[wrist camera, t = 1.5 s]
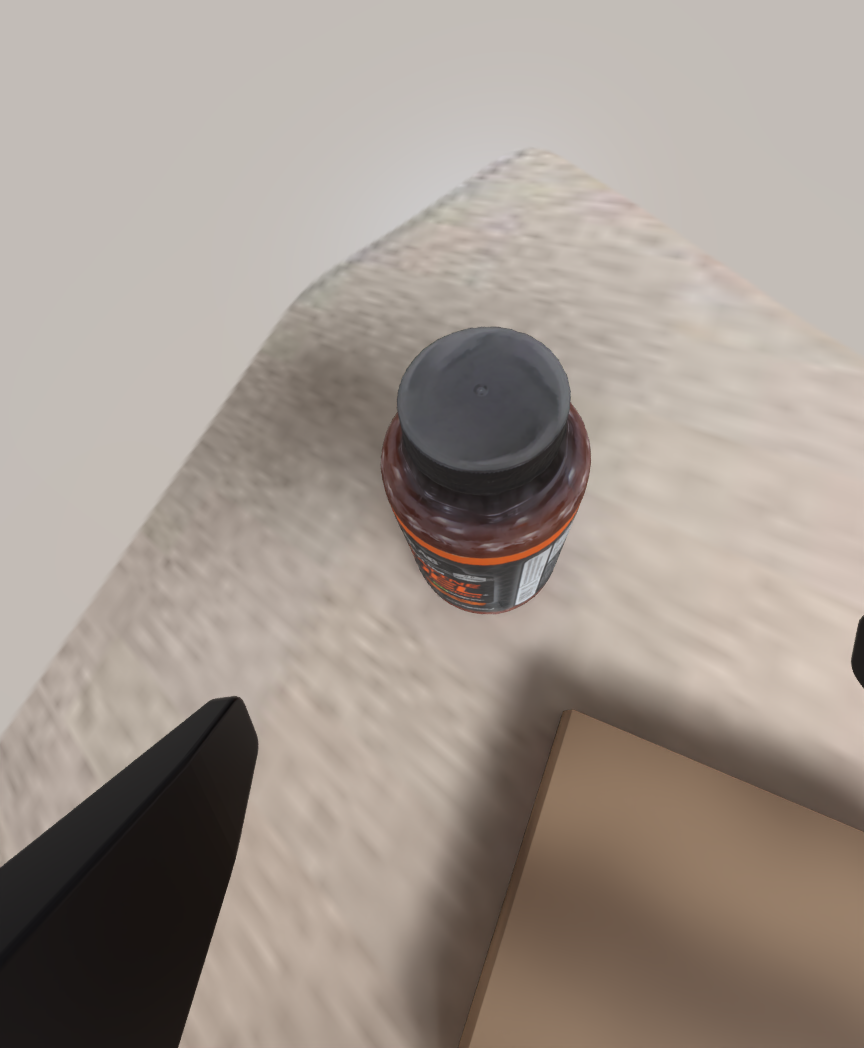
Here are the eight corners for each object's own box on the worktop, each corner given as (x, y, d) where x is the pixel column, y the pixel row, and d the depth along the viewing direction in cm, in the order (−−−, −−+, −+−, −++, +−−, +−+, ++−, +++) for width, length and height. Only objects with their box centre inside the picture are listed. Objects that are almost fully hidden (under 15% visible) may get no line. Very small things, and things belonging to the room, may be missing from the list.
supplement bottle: (392, 571, 22) (298, 430, 11) (465, 468, 23) (441, 259, 13) (510, 647, 20) (529, 562, 10) (581, 529, 21) (664, 345, 11)
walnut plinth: (890, 1393, 12) (982, 1548, 10) (442, 1097, 15) (433, 1163, 13) (929, 866, 16) (1004, 890, 14) (563, 711, 19) (572, 709, 16)
